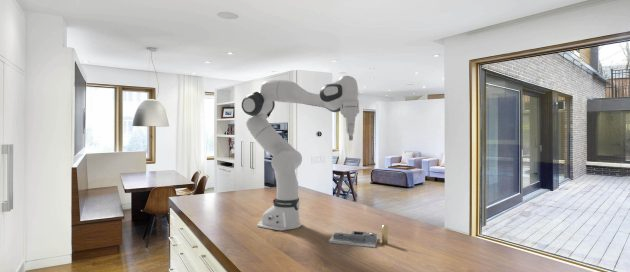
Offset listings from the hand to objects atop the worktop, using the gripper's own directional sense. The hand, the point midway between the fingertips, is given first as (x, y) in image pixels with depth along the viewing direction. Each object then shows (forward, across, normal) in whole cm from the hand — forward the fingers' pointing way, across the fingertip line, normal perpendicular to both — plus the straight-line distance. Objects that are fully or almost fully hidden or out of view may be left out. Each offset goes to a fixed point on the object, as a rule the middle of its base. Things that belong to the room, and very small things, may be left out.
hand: (351, 137), depth 153 cm
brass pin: (+46, -7, +12) cm, 49 cm away
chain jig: (+45, -9, -1) cm, 46 cm away
